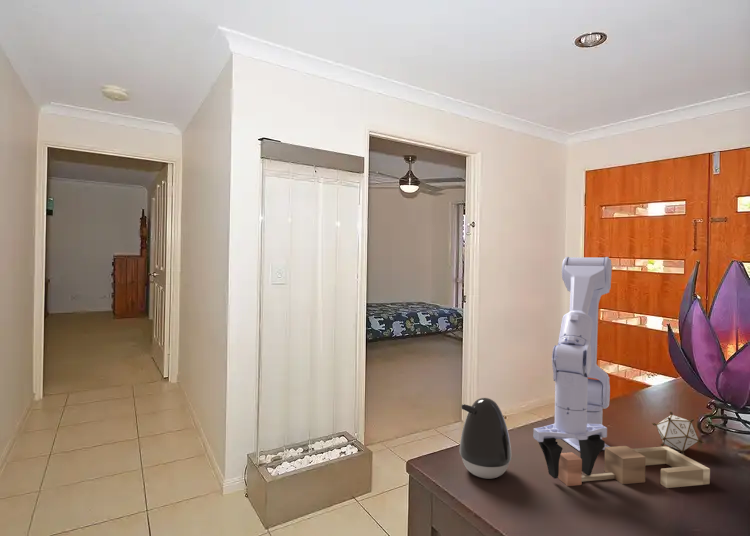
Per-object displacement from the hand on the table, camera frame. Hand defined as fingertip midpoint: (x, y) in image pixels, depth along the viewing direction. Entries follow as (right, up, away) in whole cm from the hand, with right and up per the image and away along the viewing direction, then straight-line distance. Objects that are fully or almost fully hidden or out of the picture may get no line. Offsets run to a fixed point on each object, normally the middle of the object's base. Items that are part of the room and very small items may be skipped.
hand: (569, 474), depth 83 cm
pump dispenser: (-16, -2, +3) cm, 16 cm away
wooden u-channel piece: (+21, -1, +3) cm, 21 cm away
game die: (+31, -2, +14) cm, 34 cm away
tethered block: (+6, -1, +1) cm, 7 cm away
